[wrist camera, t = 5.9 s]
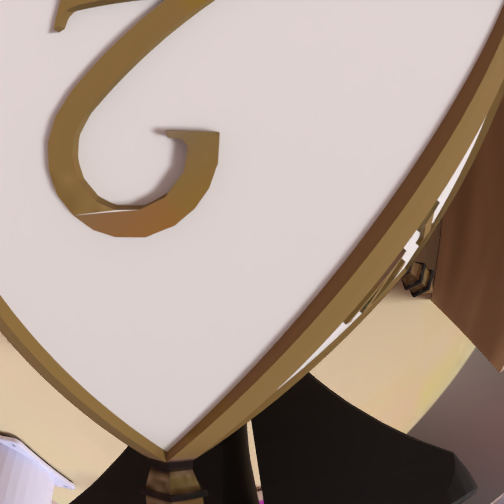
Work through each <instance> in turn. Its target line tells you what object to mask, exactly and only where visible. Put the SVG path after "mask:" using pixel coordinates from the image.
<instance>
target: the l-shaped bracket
mask: <svg viewBox="0 0 504 504" xmlns="http://www.w3.org/2000/svg"><path fill="white" fill-rule="evenodd" d="M431 301H432V302H433V303H434V304H435V305H436V306H437V307H438V308H439V309H440V310H441V311H442V312H443V313H444V314H445V315H446V316H447V317H448V318H449V319H450V320H451V321H452V322H453V323H454V324H455V325H456V326H457V327H458V328H459V329H460V330H461V331H462V332H463V333H464V334H465V335H466V336H467V337H468V338H469V339H470V341H471V342H472V343H473V344H474V345H475V346H476V347H477V348H478V349H479V350H480V351H481V352H482V354H483V355H484V356H485V357H486V358H487V359H488V360H489V361H490V362H491V364H492V365H493V366H494V367H495V368H496V369H497V370H498V372H499V373H500V372H502V371H503V370H504V93H503V96H502V99H501V101H500V104H499V106H498V109H497V111H496V114H495V116H494V118H493V121H492V123H491V125H490V128H489V130H488V132H487V134H486V137H485V139H484V141H483V143H482V145H481V147H480V149H479V152H478V154H477V156H476V158H475V160H474V162H473V164H472V166H471V168H470V169H469V171H468V173H467V175H466V177H465V179H464V181H463V183H462V185H461V186H460V188H459V190H458V192H457V194H456V195H455V197H454V199H453V201H452V202H451V204H450V206H449V207H448V209H447V211H446V212H445V214H444V216H443V217H442V225H441V236H440V245H439V253H438V261H437V268H436V274H435V280H434V286H433V293H432V297H431Z"/></svg>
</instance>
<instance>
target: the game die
mask: <svg viewBox="0 0 504 504" xmlns="http://www.w3.org/2000/svg"><path fill="white" fill-rule="evenodd" d="M503 93H504V0H0V331H1V333H2V334H3V335H4V336H5V337H6V339H7V340H8V341H9V342H10V343H11V344H12V345H13V347H14V348H15V349H16V350H17V351H18V352H19V353H20V354H21V355H22V356H23V357H24V359H25V360H26V361H27V362H28V363H29V364H30V365H31V366H32V367H33V368H34V369H35V370H36V371H37V372H38V373H39V374H40V375H41V376H42V377H43V378H44V379H45V380H46V381H47V382H48V383H50V384H51V385H52V386H53V387H54V388H55V389H56V390H57V391H58V392H59V393H61V394H62V395H63V396H64V397H65V398H66V399H67V400H69V401H70V402H71V403H72V404H73V405H74V406H76V407H77V408H78V409H79V410H80V411H82V412H83V413H84V414H85V415H87V416H88V417H89V418H91V419H92V420H93V421H94V422H96V423H97V424H98V425H100V426H101V427H102V428H104V429H105V430H107V431H108V432H109V433H111V434H112V435H114V436H115V437H116V438H118V439H119V440H121V441H122V442H124V443H125V444H127V445H128V446H130V447H131V448H133V449H134V450H136V451H138V452H139V453H141V454H142V455H144V456H146V457H147V459H148V462H149V465H150V467H151V468H150V472H149V476H148V479H147V483H146V484H145V485H142V486H140V487H139V492H140V493H142V494H145V495H146V504H204V502H203V497H206V496H208V490H207V489H206V488H204V487H203V486H202V485H200V484H199V483H198V481H197V479H196V477H195V474H194V472H193V470H192V469H193V461H194V459H196V458H197V457H199V456H201V455H202V454H204V453H205V452H207V451H208V450H210V449H211V448H212V447H214V446H215V445H217V444H218V443H220V442H221V441H223V440H224V439H225V438H227V437H228V436H230V435H231V434H232V433H234V432H235V431H237V430H238V429H239V428H241V427H242V426H243V425H245V424H246V423H247V422H249V421H250V420H251V419H253V418H254V417H255V416H256V415H258V414H259V413H260V412H262V411H263V410H264V409H265V408H267V407H268V406H269V405H270V404H272V403H273V402H274V401H275V400H277V399H278V398H279V397H280V396H281V395H283V394H284V393H285V392H286V391H287V390H289V389H290V388H291V387H292V386H293V385H294V384H296V383H297V382H298V381H299V380H300V379H301V378H303V377H304V376H305V375H306V374H307V373H308V372H309V371H310V370H312V369H313V368H314V367H315V366H316V365H317V364H318V363H319V362H320V361H321V360H323V359H324V358H325V357H326V356H327V355H328V354H329V353H330V352H331V351H332V350H333V349H334V348H335V347H336V346H337V345H338V344H339V343H340V342H341V341H342V340H343V339H345V338H346V337H347V336H348V335H349V334H350V333H351V332H352V331H353V330H354V329H355V328H356V326H357V325H358V324H359V323H360V322H361V321H362V320H363V319H364V318H365V317H366V316H367V315H368V314H369V313H370V312H371V311H372V310H373V309H374V308H375V307H376V306H377V304H378V303H379V302H380V301H381V300H382V299H383V298H384V297H385V296H386V295H387V293H388V292H389V291H390V290H391V289H392V288H393V287H394V286H395V284H396V283H397V282H398V281H399V280H400V279H402V282H403V285H404V289H405V290H408V289H409V290H410V291H411V294H412V296H413V297H416V296H418V295H420V294H427V293H433V285H432V278H433V274H434V271H433V270H429V269H426V264H424V263H419V262H414V260H415V259H416V258H417V256H418V255H419V253H420V252H421V250H422V249H423V247H424V246H425V244H426V243H427V241H428V240H429V238H430V237H431V235H432V233H433V232H434V230H435V229H436V227H437V225H438V224H439V222H440V221H441V219H442V217H443V216H444V214H445V212H446V211H447V209H448V207H449V206H450V204H451V202H452V201H453V199H454V197H455V195H456V194H457V192H458V190H459V188H460V186H461V185H462V183H463V181H464V179H465V177H466V175H467V173H468V171H469V169H470V168H471V166H472V164H473V162H474V160H475V158H476V156H477V154H478V152H479V149H480V147H481V145H482V143H483V141H484V139H485V137H486V134H487V132H488V130H489V128H490V125H491V123H492V121H493V118H494V116H495V114H496V111H497V109H498V106H499V104H500V101H501V99H502V96H503Z"/></svg>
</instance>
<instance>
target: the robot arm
mask: <svg viewBox="0 0 504 504" xmlns="http://www.w3.org/2000/svg"><path fill="white" fill-rule="evenodd" d="M251 422H252V429H253V435H254V441H255V448H256V455H257V461H258V468H259V475H260V481H261V488H262V495H263V501H264V504H461V503H462V502H464V501H465V500H466V499H468V498H469V497H471V496H472V495H474V494H475V493H476V491H477V488H478V487H477V485H476V483H475V481H474V480H473V478H472V476H471V475H470V472H469V471H468V470H467V468H466V467H465V466H464V465H463V463H462V462H461V461H460V460H459V459H458V457H457V456H456V455H455V454H454V453H453V452H451V451H448V450H445V449H442V448H440V447H436V446H434V445H431V444H428V443H426V442H423V441H421V440H418V439H416V438H414V437H411V436H409V435H407V434H405V433H402V432H400V431H398V430H396V429H394V428H392V427H390V426H388V425H386V424H384V423H382V422H380V421H379V420H377V419H375V418H374V417H372V416H370V415H368V414H367V413H365V412H363V411H362V410H360V409H358V408H357V407H355V406H353V405H352V404H350V403H349V402H347V401H346V400H344V399H343V398H341V397H340V396H339V395H337V394H336V393H334V392H333V391H332V390H330V389H329V388H328V387H326V386H325V385H324V384H323V383H321V382H320V381H319V380H318V379H316V378H315V377H314V376H313V375H312V374H311V373H309V372H308V373H307V374H306V375H305V376H304V377H303V378H301V379H300V380H299V381H298V382H297V383H296V384H294V385H293V386H292V387H291V388H290V389H289V390H287V391H286V392H285V393H284V394H283V395H281V396H280V397H279V398H278V399H277V400H275V401H274V402H273V403H272V404H270V405H269V406H268V407H267V408H265V409H264V410H263V411H262V412H260V413H259V414H258V415H256V416H255V417H254V418H253V419H251ZM150 468H151V467H150V465H149V462H148V459H147V457H146V456H144V455H142V454H141V453H139V452H138V451H136V450H134V449H133V448H131V447H130V446H128V447H127V448H126V449H125V450H124V451H123V453H122V454H121V455H120V456H119V457H118V458H117V459H116V460H115V461H114V462H113V463H112V465H111V466H110V467H109V468H108V469H107V470H106V471H105V472H104V473H103V474H102V475H101V476H100V477H99V478H98V479H97V480H96V481H95V482H94V483H93V484H92V485H91V486H90V487H89V488H88V489H86V490H85V491H84V492H83V493H82V494H80V495H79V496H78V497H77V498H76V499H74V500H73V501H72V502H71V503H69V504H146V495H145V494H142V493H140V492H139V487H140V486H142V485H145V484H146V483H147V479H148V476H149V472H150ZM192 470H193V472H194V474H195V477H196V479H197V481H198V483H199V484H200V485H202V486H203V487H204V488H206V489H207V490H208V496H206V497H203V502H204V504H260V503H259V499H258V495H257V490H256V485H255V481H254V476H253V471H252V466H251V461H250V454H249V446H248V434H247V423H246V424H245V425H243V426H242V427H241V428H239V429H238V430H237V431H235V432H234V433H232V434H231V435H230V436H228V437H227V438H225V439H224V440H223V441H221V442H220V443H218V444H217V445H215V446H214V447H212V448H211V449H210V450H208V451H207V452H205V453H204V454H202V455H201V456H199V457H197V458H196V459H194V461H193V469H192ZM54 486H58V487H63V488H68V489H75V487H76V486H75V485H74V484H73V483H72V482H70V481H69V480H67V479H66V478H65V477H63V476H62V475H61V474H59V473H58V472H57V471H55V470H54V469H53V468H51V467H50V466H49V465H48V464H46V463H45V462H44V461H43V460H42V459H40V458H39V457H38V456H37V455H36V454H34V453H33V452H32V451H31V450H30V449H29V448H28V447H26V446H25V445H24V444H23V443H22V442H21V441H19V440H18V439H16V438H11V437H6V436H2V435H0V504H51V501H52V496H53V490H54ZM491 504H504V493H503V494H502V495H501V496H500V497H498V498H497V499H496V500H495V501H493V502H492V503H491Z"/></svg>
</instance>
